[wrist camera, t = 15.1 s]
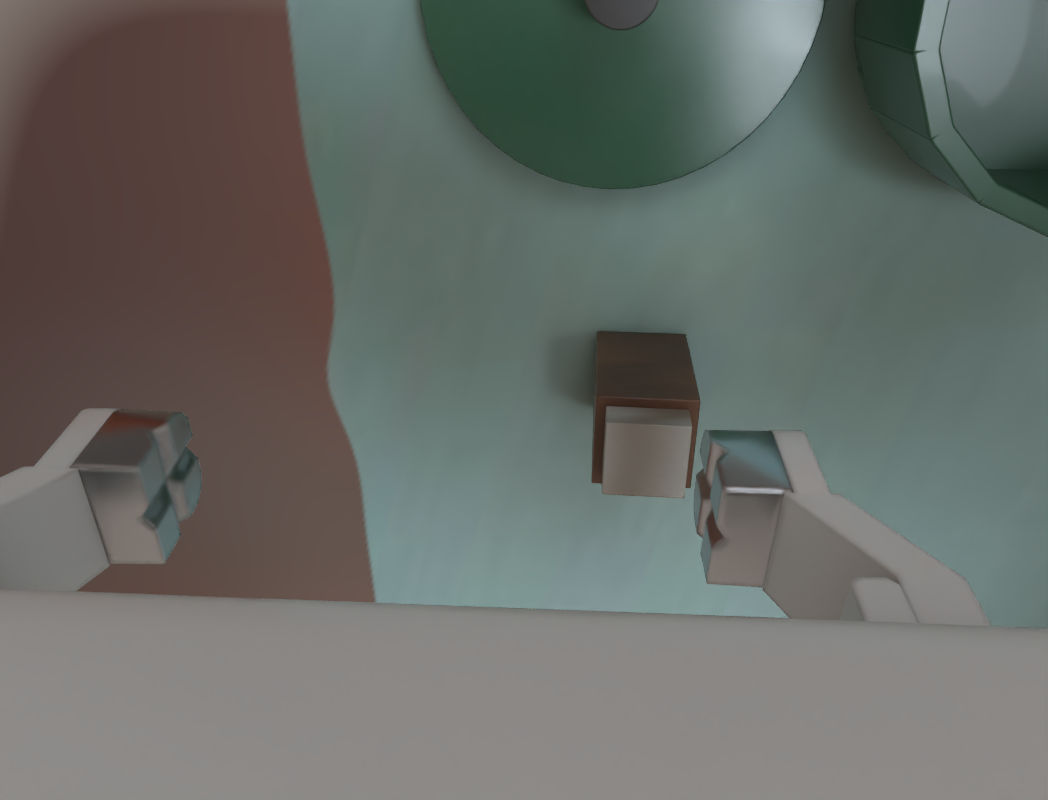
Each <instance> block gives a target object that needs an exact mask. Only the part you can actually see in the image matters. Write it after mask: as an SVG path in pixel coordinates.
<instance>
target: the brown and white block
mask: <svg viewBox="0 0 1048 800" xmlns="http://www.w3.org/2000/svg"><path fill="white" fill-rule="evenodd" d="M699 410H700V397H699V392H698V388H697V383H696V379H695V374H694V369H693V365H692V360H691V356H690V351H689V347H688V342H687V337H686V335H680V334H656V333H631V332H607V331H598V332H597V345H596V364H595V383H594V402H593V439H592V483H602V494H611V495H629V496H648V497H667V498H684V496H685V488H690V487H691V479H692V470H693V461H694V453H695V444H696V436H697V427H698V418H699Z"/></svg>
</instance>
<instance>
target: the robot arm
mask: <svg viewBox="0 0 1048 800" xmlns="http://www.w3.org/2000/svg"><path fill="white" fill-rule="evenodd" d="M191 437H192V432H191V428H190V424H189V420H188V418H187V417H186V416H185V415H184V414H183V413H182V412H168V411H148V410H130V409H129V410H128V409H120V410H119V409H110V408H89V409H85V410H82V411H81V412H80V413H79V414H78V415H77V417H76V418H75V419H74V420H73V421H72V422H71V424H70V425H69V426H68V427H67V428H66V429H65V431H64V432H63V433H62V434H61V435H60V437H59V438H58V439H57V440H56V441H55V442H54V444H53V445H52V446H51V447H50V448H49V449H48V451H47V452H46V453H45V454H44V455H43V456H42V458H41V459H40V460H39V461H38V462H37V464H36V465H35V466H34V467H22V468H20V469H18V470H15V471H13V472H12V473H9V474H7V475H5V476H3V477H0V800H1048V628H1028V627H1002V626H991V624H990V623H989V621H988V619H987V617H986V615H985V613H984V612H983V610H982V608H981V606H980V604H979V602H978V600H977V599H976V597H975V595H974V593H973V591H972V589H971V588H970V586H969V584H968V582H967V580H966V579H965V578H964V577H962V576H961V575H959V574H958V573H956V572H955V571H953V570H952V569H950V568H949V567H947V566H946V565H944V564H943V563H941V562H940V561H938V560H937V559H935V558H934V557H933V556H931V555H930V554H928V553H927V552H925V551H924V550H922V549H921V548H919V547H918V546H916V545H915V544H913V543H912V542H910V541H909V540H907V539H906V538H904V537H903V536H901V535H900V534H898V533H897V532H895V531H894V530H892V529H891V528H889V527H888V526H887V525H885V524H884V523H882V522H881V521H879V520H878V519H876V518H875V517H873V516H872V515H870V514H869V513H867V512H866V511H864V510H863V509H861V508H860V507H858V506H857V505H855V504H854V503H852V502H851V501H849V500H848V499H846V498H845V497H843V496H842V495H840V494H831V492H830V490H829V488H828V485H827V483H826V481H825V478H824V476H823V474H822V471H821V469H820V466H819V464H818V462H817V459H816V457H815V455H814V452H813V450H812V447H811V445H810V443H809V440H808V438H807V436H806V434H805V433H804V432H803V431H801V430H769V431H736V430H705V431H704V434H703V437H702V442H701V448H700V454H701V459H702V464H703V469H702V470H701V471H700V472H699V473H698V474H697V475H696V482H695V490H694V519H695V526H696V531H697V534H698V535H700V536H701V537H702V538H703V541H702V548H701V557H702V562H703V567H704V572H705V577H706V582H707V584H719V585H735V586H751V587H763V591H764V592H765V593H766V594H767V595H768V596H769V597H770V598H771V599H772V600H773V601H774V602H775V603H776V604H777V605H778V606H779V608H780V609H781V610H782V611H783V612H784V613H785V614H786V615H787V616H788V617H789V618H768V617H742V616H716V615H689V614H662V613H635V612H608V611H582V610H555V609H528V608H501V607H474V606H448V605H421V604H394V603H368V602H341V601H340V602H339V601H315V600H313V601H312V600H288V599H261V598H259V599H258V598H233V597H207V596H182V595H153V594H129V593H101V592H75V591H77V590H78V589H79V588H81V587H82V586H83V585H85V584H86V583H87V582H89V581H90V580H91V579H93V578H94V577H95V576H97V575H98V574H99V573H101V572H102V571H103V570H105V569H106V568H108V567H109V563H136V564H137V563H138V564H139V563H140V564H165V562H166V560H167V558H168V557H169V555H170V553H171V551H172V549H173V548H174V546H175V544H176V542H177V541H178V539H179V537H180V535H181V533H180V529H179V525H178V523H180V522H181V521H183V520H185V519H186V518H188V517H189V516H191V515H192V513H193V511H194V509H195V507H196V505H197V503H198V500H199V495H200V490H201V469H200V465H199V460H198V457H196V456H195V455H194V454H193V453H192V452H191V451H190V450H189V449H188V448H187V447H186V445H187V443H188V442H189V440H190V438H191Z"/></svg>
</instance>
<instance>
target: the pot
mask: <svg viewBox="0 0 1048 800" xmlns="http://www.w3.org/2000/svg"><path fill="white" fill-rule="evenodd" d="M855 48H856V55H857V62H858V68H859V73H860V76H861V79H862V83H863V86H864V89H865V93H866V95H867V97H868V99H869V104H870V106H871V109H872V110H873V111H874V113H875V114H876V115H877V117H878V118H879V120H880V121H881V123H882V124H883V126H884V128H885V129H886V131H887V132H888V133H889V134H890V135H891V136H892V137H893V138H894V140H895V141H896V142H897V143H898V144H899V145H900V146H901V147H902V149H903V150H904V151H905V152H906V154H907V155H908V156H909V158H910V159H912V160H913V161H914V162H916V163H917V164H919V165H920V166H922V167H923V168H925V169H926V170H928V171H929V172H931V173H932V174H934V175H935V176H937V177H938V178H940V179H941V180H943V181H945V182H946V183H948V184H949V185H951V186H952V187H954V188H955V189H957V190H958V191H960V192H961V193H963V194H964V195H966V196H967V197H969V198H970V199H972V200H973V201H975V202H976V203H978V204H980V205H982V206H984V207H986V208H988V209H990V210H992V211H994V212H996V213H998V214H1000V215H1003V216H1005V217H1007V218H1009V219H1011V220H1013V221H1015V222H1017V223H1019V224H1021V225H1024V226H1026V227H1028V228H1030V229H1032V230H1034V231H1036V232H1038V233H1040V234H1042V235H1045V236H1047V237H1048V0H857V2H856V12H855Z"/></svg>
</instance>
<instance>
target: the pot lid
mask: <svg viewBox="0 0 1048 800" xmlns="http://www.w3.org/2000/svg"><path fill="white" fill-rule="evenodd" d="M420 1H421V11H422V15H423V20H424V25H425V29H426V34H427V38H428V41H429V44H430V47H431V50H432V53H433V56H434V59H435V62H436V64H437V66H438V69H439V71H440V73H441V75H442V77H443V79H444V81H445V83H446V85H447V87H448V89H449V90H450V92H451V94H452V95H453V97H454V98H455V100H456V101H457V103H458V104H459V106H460V108H461V109H462V111H463V112H464V113H465V114H466V115H467V117H468V118H469V119H470V120H471V121H472V123H473V124H474V125H475V126H476V127H477V129H478V130H479V131H480V132H481V133H483V134H484V135H485V136H486V137H487V138H488V139H489V140H490V141H491V142H492V143H493V144H494V145H495V146H496V147H498V148H499V149H501V150H502V151H503V152H505V153H506V154H508V155H509V156H510V157H512V158H513V159H514V160H516V161H517V162H519V163H521V164H523V165H525V166H527V167H529V168H530V169H532V170H534V171H536V172H538V173H540V174H543V175H546V176H548V177H551V178H554V179H556V180H559V181H562V182H566V183H570V184H575V185H579V186H583V187H592V188H602V189H629V188H638V187H644V186H650V185H656V184H660V183H663V182H667V181H670V180H673V179H677V178H680V177H683V176H685V175H687V174H689V173H692V172H694V171H696V170H699V169H701V168H703V167H705V166H707V165H708V164H710V163H712V162H713V161H715V160H717V159H718V158H720V157H722V156H724V155H725V154H727V153H728V152H729V151H731V150H732V149H733V148H735V147H736V146H737V145H738V144H740V143H741V142H742V141H744V140H745V139H746V138H747V137H748V136H750V135H751V134H752V133H753V132H754V131H755V130H756V129H757V128H758V127H759V126H760V125H761V124H762V123H763V122H764V121H765V120H766V119H767V118H768V116H769V115H770V114H771V113H772V111H773V110H774V109H775V108H776V106H777V105H778V104H779V103H780V101H781V100H782V99H783V98H784V96H785V95H786V93H787V92H788V90H789V89H790V87H791V85H792V84H793V82H794V81H795V79H796V77H797V76H798V74H799V73H800V71H801V68H802V66H803V64H804V62H805V60H806V58H807V56H808V54H809V52H810V50H811V48H812V45H813V42H814V39H815V36H816V33H817V31H818V28H819V25H820V22H821V19H822V15H823V10H824V6H825V1H826V0H420Z"/></svg>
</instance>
